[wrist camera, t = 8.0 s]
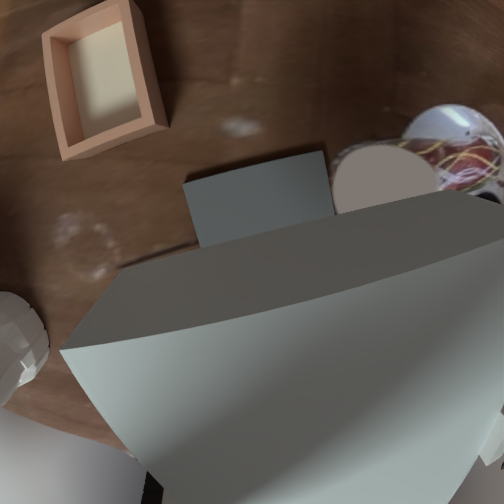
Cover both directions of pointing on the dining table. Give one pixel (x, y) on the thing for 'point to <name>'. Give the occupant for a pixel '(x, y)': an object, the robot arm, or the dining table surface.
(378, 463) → the board
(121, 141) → the brown open box
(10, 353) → the white ridged column
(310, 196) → the mat
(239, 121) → the dining table surface
